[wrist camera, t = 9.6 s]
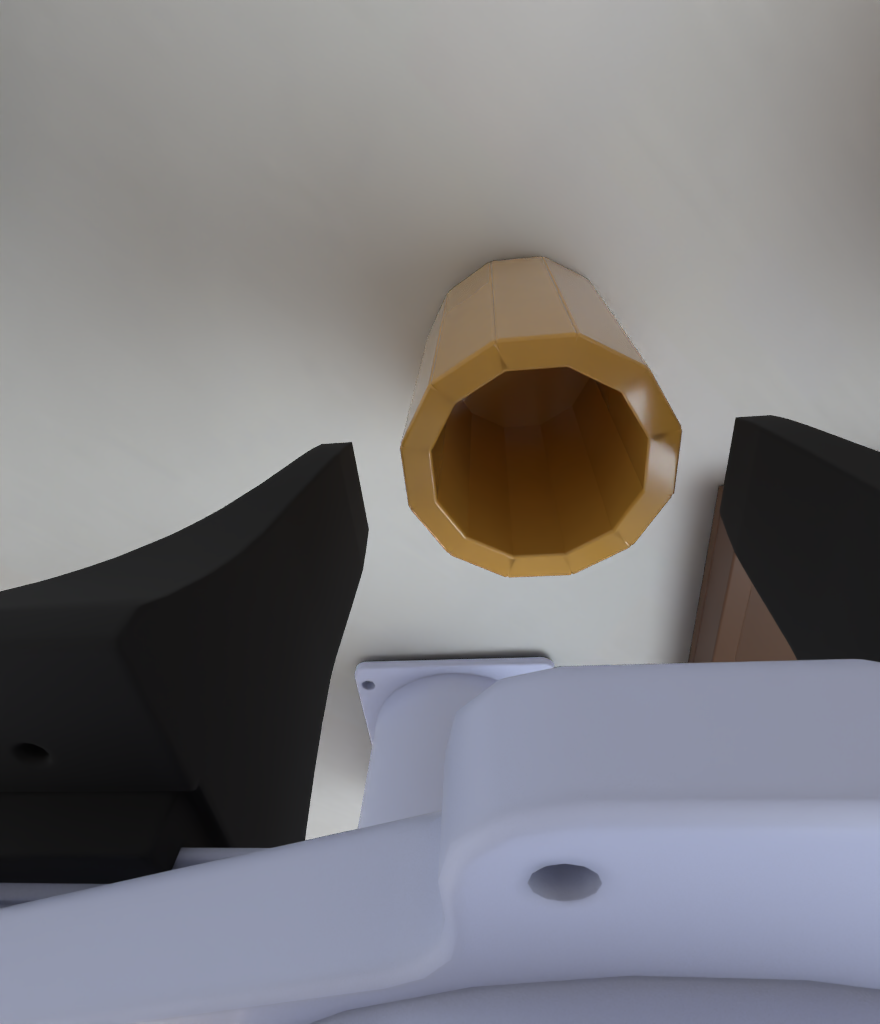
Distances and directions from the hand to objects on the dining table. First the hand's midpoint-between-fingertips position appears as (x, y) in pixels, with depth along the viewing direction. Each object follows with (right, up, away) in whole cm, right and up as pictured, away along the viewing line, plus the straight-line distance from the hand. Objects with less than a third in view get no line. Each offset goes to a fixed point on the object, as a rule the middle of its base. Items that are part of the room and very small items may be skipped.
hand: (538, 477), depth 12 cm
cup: (0, +4, +6) cm, 7 cm away
